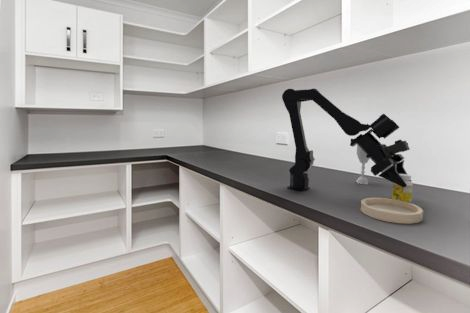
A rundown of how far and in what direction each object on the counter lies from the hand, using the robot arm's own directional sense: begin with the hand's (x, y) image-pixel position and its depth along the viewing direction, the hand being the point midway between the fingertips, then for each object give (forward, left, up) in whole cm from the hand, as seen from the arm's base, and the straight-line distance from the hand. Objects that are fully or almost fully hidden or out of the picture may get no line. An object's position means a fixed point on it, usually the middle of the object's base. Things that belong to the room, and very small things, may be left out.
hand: (407, 184), depth 79 cm
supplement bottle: (-1, 0, -7) cm, 7 cm away
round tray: (0, -13, -7) cm, 15 cm away
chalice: (-22, +20, -7) cm, 31 cm away
